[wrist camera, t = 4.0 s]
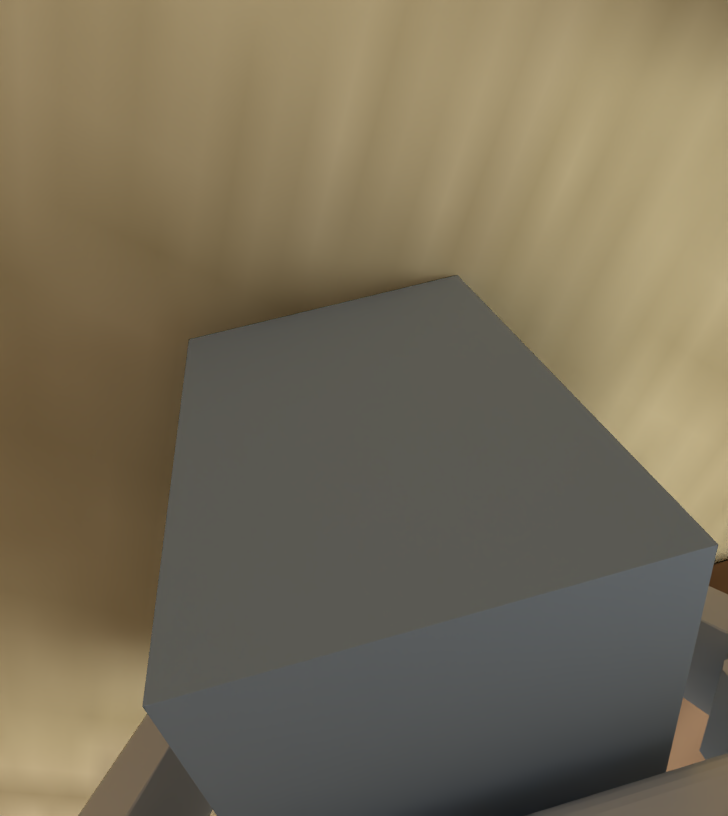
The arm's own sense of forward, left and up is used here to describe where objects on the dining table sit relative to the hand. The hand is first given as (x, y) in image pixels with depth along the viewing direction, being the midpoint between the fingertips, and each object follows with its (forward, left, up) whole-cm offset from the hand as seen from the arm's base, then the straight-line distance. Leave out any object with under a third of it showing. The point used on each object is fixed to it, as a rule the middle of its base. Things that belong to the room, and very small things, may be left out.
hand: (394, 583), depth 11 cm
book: (0, 0, -3) cm, 3 cm away
